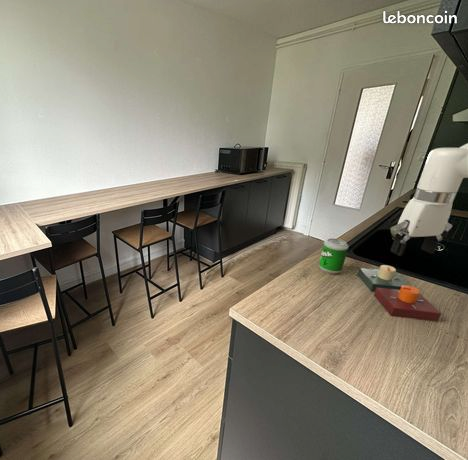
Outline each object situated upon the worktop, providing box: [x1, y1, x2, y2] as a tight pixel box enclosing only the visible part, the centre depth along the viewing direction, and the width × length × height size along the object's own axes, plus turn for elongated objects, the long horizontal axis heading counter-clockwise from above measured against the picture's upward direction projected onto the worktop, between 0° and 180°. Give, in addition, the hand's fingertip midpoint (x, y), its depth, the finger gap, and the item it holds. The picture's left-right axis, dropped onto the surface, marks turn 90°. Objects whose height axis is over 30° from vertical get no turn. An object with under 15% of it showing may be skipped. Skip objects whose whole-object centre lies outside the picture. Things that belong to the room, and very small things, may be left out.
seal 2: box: [398, 285, 421, 303], centre depth 74 cm, size 4×4×4 cm
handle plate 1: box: [357, 267, 412, 293], centre depth 86 cm, size 11×10×3 cm
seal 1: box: [377, 264, 397, 280], centre depth 85 cm, size 4×4×4 cm
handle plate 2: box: [373, 288, 442, 323], centre depth 75 cm, size 11×10×3 cm
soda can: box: [318, 237, 349, 275], centre depth 94 cm, size 8×8×12 cm
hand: (411, 252), depth 74 cm, fingers open, 9 cm apart
